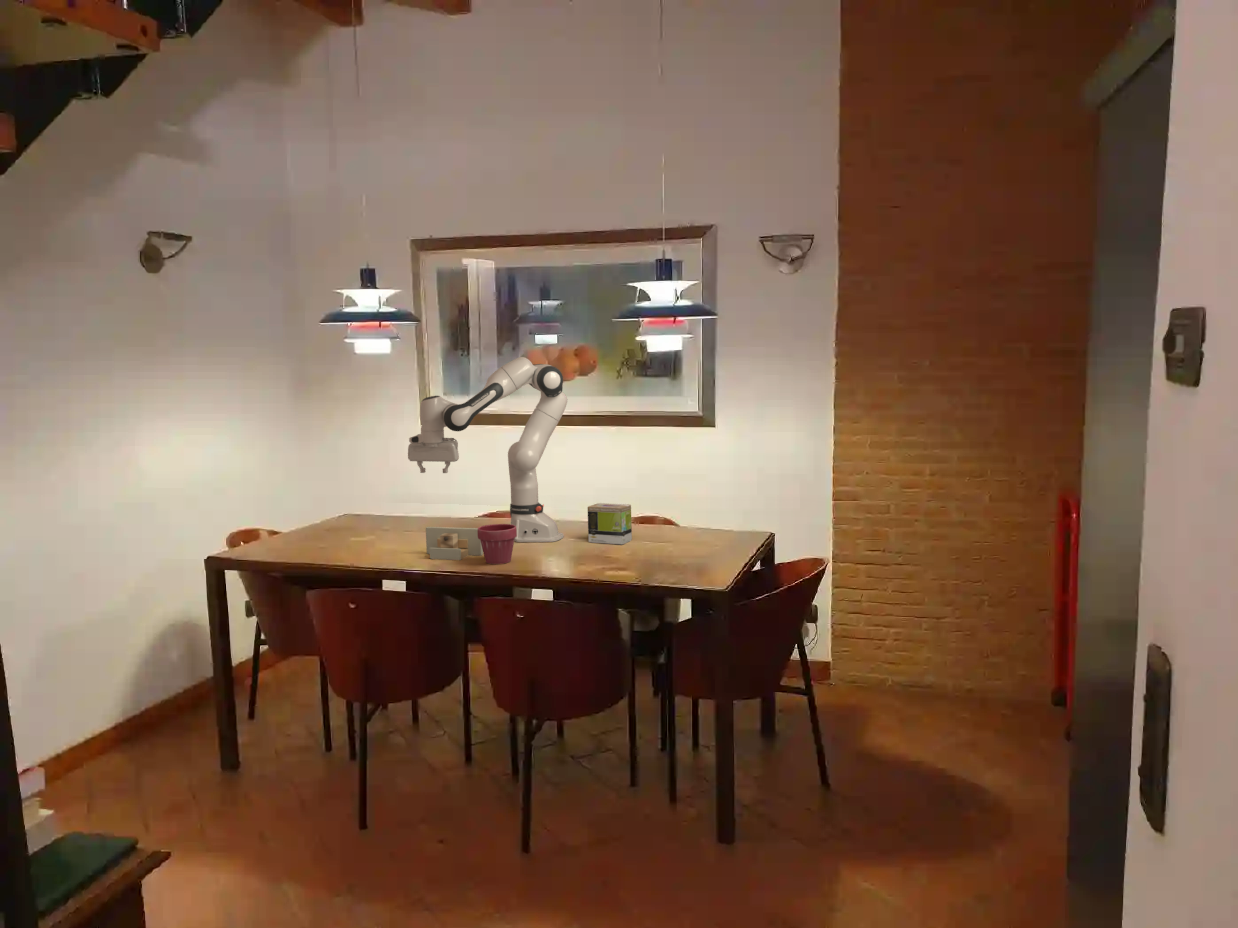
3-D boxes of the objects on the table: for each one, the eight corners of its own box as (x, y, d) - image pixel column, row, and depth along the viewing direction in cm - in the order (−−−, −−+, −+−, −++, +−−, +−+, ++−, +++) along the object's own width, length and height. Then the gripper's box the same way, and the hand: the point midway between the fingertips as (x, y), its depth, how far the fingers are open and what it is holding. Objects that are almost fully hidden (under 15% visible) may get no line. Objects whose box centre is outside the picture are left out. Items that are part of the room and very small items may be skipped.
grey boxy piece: (483, 554, 351) (482, 528, 350) (472, 560, 341) (471, 533, 340) (429, 552, 356) (427, 526, 355) (417, 558, 346) (416, 531, 345)
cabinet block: (458, 549, 349) (457, 533, 348) (452, 552, 344) (451, 536, 343) (445, 548, 350) (445, 533, 350) (439, 551, 345) (439, 536, 344)
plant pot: (480, 557, 346) (479, 523, 344) (518, 556, 347) (517, 522, 345) (477, 566, 331) (475, 531, 330) (516, 565, 332) (515, 530, 331)
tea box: (632, 540, 372) (631, 503, 370) (622, 545, 363) (621, 508, 361) (598, 537, 378) (598, 501, 376) (587, 542, 369) (586, 505, 367)
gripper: (460, 437, 363) (462, 472, 365) (412, 436, 368) (414, 471, 370) (454, 438, 357) (455, 474, 359) (405, 438, 362) (406, 473, 364)
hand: (434, 472), depth 364 cm, fingers open, 8 cm apart
